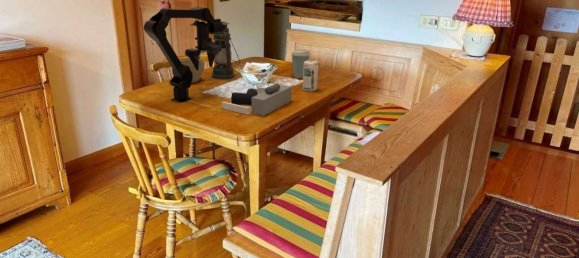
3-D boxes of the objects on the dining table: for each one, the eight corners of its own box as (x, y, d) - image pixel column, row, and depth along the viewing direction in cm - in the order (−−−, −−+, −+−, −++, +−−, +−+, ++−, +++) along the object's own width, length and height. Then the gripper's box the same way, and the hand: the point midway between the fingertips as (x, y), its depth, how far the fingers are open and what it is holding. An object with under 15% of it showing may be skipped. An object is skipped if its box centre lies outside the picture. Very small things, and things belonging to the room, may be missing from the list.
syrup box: (302, 90, 216) (303, 62, 211) (307, 87, 221) (308, 59, 216) (312, 92, 214) (313, 63, 208) (317, 89, 219) (318, 61, 213)
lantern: (205, 73, 241) (203, 19, 230) (229, 70, 248) (227, 17, 237) (219, 82, 226) (217, 24, 214) (244, 78, 233) (243, 22, 222)
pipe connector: (237, 86, 202) (268, 88, 200) (237, 96, 204) (268, 99, 202) (231, 94, 192) (263, 96, 190) (231, 105, 194) (263, 107, 192)
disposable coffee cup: (287, 78, 237) (288, 51, 231) (293, 73, 246) (294, 47, 240) (306, 80, 234) (307, 52, 228) (311, 75, 243) (312, 49, 238)
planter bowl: (207, 77, 234) (206, 57, 230) (202, 85, 219) (201, 64, 215) (177, 76, 234) (176, 56, 229) (171, 84, 219) (169, 63, 214)
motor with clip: (260, 117, 178) (260, 94, 175) (221, 108, 187) (221, 86, 184) (293, 99, 202) (294, 79, 198) (258, 92, 211) (258, 72, 207)
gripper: (201, 40, 185) (203, 75, 191) (229, 34, 200) (230, 67, 206) (183, 36, 190) (185, 71, 196) (211, 32, 205) (212, 64, 211)
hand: (204, 68), depth 202 cm, fingers open, 9 cm apart
